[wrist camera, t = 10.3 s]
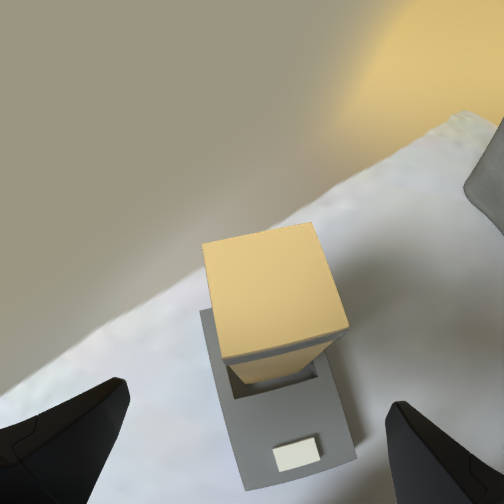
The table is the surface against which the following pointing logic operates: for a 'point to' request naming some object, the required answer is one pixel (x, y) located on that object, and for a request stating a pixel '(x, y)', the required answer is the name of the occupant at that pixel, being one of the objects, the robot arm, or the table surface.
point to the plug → (272, 301)
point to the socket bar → (280, 419)
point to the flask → (489, 181)
